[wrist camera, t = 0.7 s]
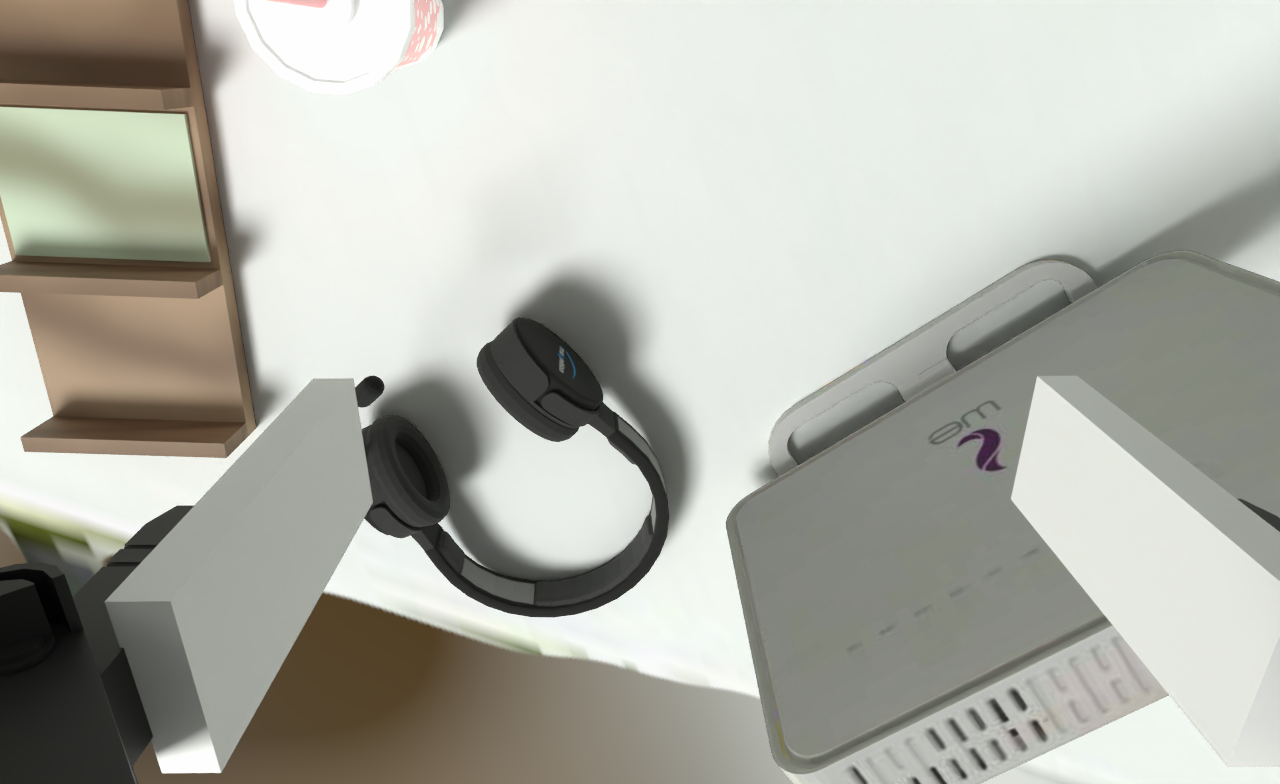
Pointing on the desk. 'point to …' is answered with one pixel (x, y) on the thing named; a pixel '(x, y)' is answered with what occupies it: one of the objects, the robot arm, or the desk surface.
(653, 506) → the headset
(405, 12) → the beverage cup
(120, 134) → the slot rack
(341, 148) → the desk surface
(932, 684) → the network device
